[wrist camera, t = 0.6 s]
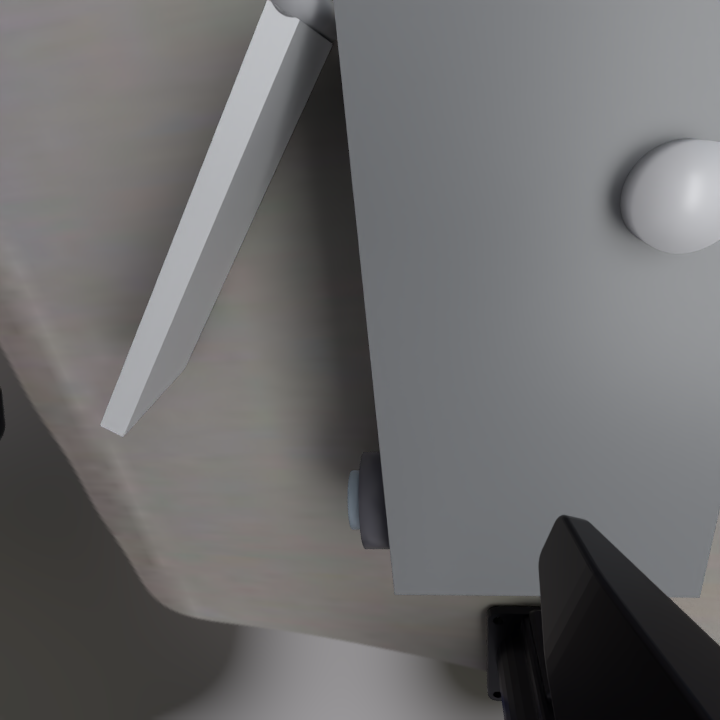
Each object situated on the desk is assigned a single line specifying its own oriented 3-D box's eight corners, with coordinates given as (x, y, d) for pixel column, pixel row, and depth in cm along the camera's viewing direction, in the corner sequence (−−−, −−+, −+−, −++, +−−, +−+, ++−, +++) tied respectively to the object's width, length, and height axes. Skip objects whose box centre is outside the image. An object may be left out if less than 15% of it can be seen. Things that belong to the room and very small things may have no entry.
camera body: (637, 489, 22) (711, 618, 17) (364, 493, 24) (347, 613, 18) (711, -27, 15) (889, -110, 9) (307, 28, 17) (248, -14, 11)
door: (186, 370, 22) (125, 438, 17) (160, 356, 22) (92, 422, 17) (349, 15, 16) (322, -21, 11) (315, -7, 16) (274, -53, 11)
